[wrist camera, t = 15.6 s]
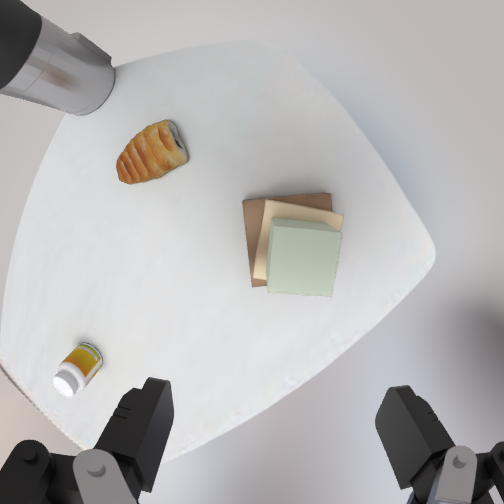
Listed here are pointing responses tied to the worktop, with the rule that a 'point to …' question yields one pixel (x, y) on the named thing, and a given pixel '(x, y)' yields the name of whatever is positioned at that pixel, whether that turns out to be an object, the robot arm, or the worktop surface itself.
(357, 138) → the worktop surface
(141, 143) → the pastry
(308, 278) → the sage block
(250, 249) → the block bottom
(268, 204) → the block top
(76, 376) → the supplement bottle
